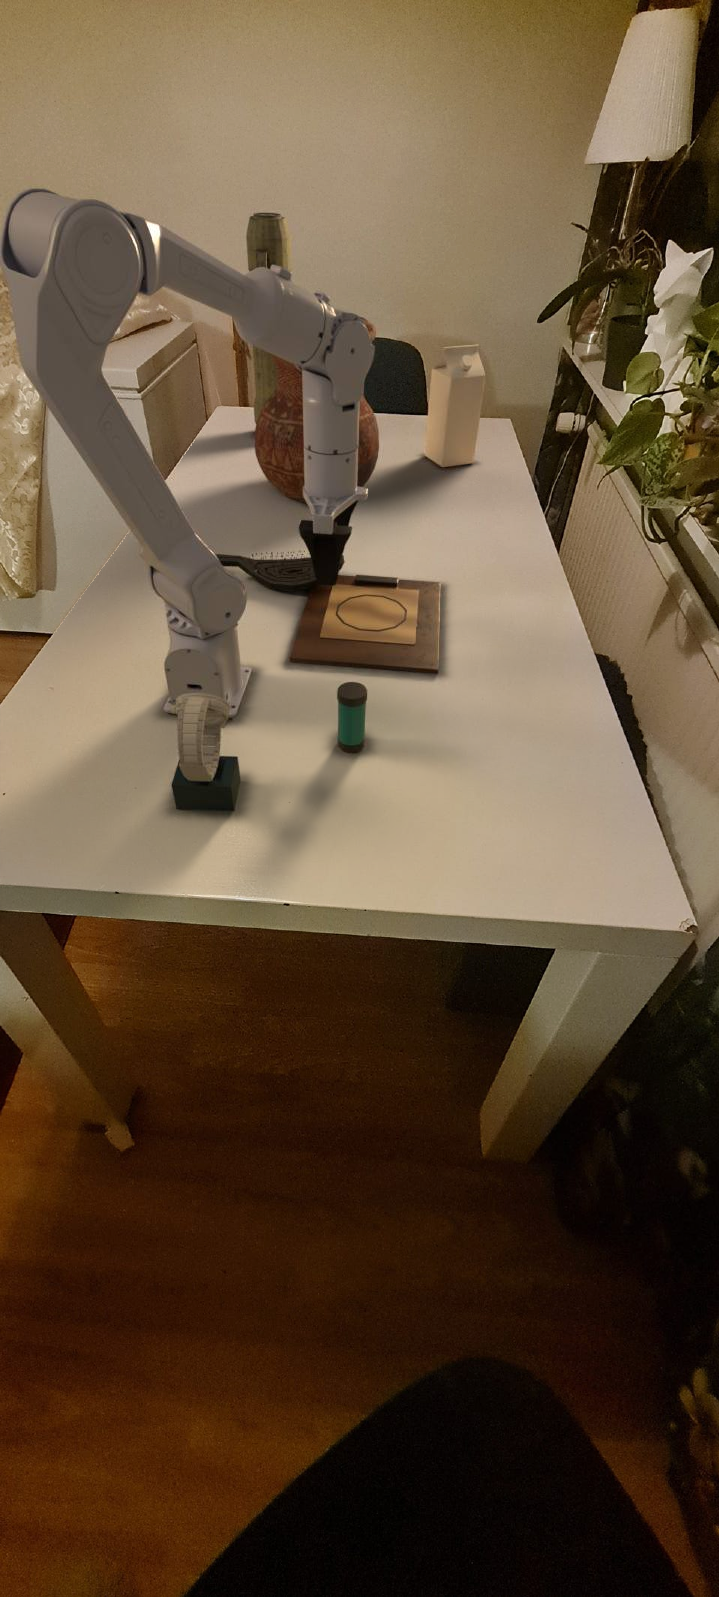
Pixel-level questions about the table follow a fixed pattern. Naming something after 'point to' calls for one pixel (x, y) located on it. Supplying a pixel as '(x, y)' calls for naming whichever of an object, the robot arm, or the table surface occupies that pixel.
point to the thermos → (264, 250)
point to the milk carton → (455, 406)
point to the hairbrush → (276, 570)
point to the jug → (285, 436)
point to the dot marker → (351, 716)
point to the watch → (203, 755)
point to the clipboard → (371, 624)
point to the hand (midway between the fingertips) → (330, 568)
